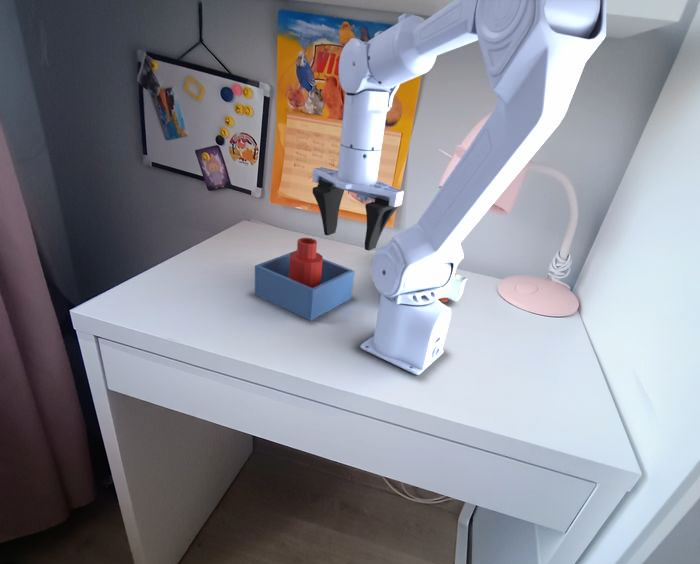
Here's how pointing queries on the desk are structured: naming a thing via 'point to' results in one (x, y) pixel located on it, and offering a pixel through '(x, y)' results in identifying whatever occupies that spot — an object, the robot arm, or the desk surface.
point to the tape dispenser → (453, 289)
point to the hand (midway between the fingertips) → (349, 241)
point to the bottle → (306, 263)
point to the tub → (303, 287)
